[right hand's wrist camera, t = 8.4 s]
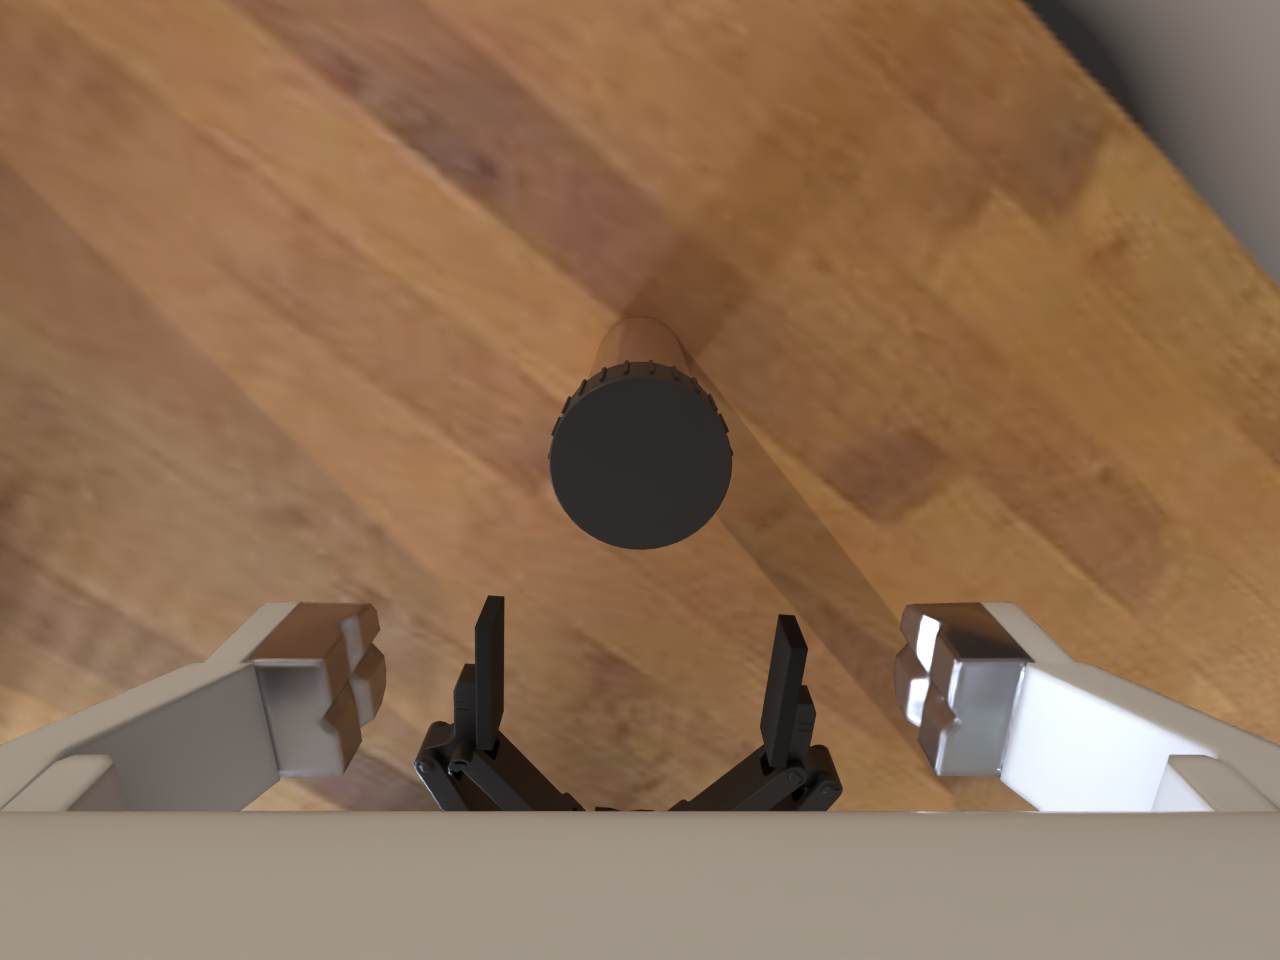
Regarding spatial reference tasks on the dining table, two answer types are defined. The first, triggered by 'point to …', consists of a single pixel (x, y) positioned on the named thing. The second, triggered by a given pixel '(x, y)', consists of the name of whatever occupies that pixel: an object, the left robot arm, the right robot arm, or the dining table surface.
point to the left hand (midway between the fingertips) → (642, 620)
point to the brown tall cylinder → (640, 345)
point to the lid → (640, 456)
